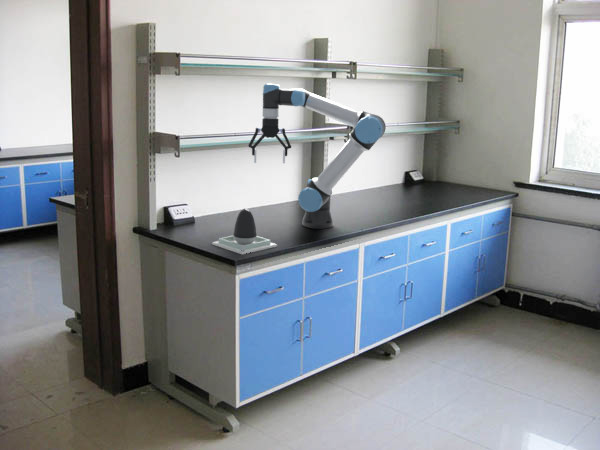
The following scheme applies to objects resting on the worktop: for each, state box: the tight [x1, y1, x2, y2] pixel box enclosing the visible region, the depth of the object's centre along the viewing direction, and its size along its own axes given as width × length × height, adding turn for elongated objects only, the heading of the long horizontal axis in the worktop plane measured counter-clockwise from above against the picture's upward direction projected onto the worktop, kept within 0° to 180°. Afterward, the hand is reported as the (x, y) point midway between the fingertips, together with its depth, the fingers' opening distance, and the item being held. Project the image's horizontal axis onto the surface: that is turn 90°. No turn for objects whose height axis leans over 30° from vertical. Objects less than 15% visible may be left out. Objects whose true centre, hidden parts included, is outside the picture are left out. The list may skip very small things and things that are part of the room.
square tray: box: [211, 235, 278, 255], centre depth 289 cm, size 20×20×4 cm
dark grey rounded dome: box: [232, 208, 258, 245], centre depth 287 cm, size 10×10×15 cm
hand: (269, 162), depth 315 cm, fingers open, 13 cm apart
